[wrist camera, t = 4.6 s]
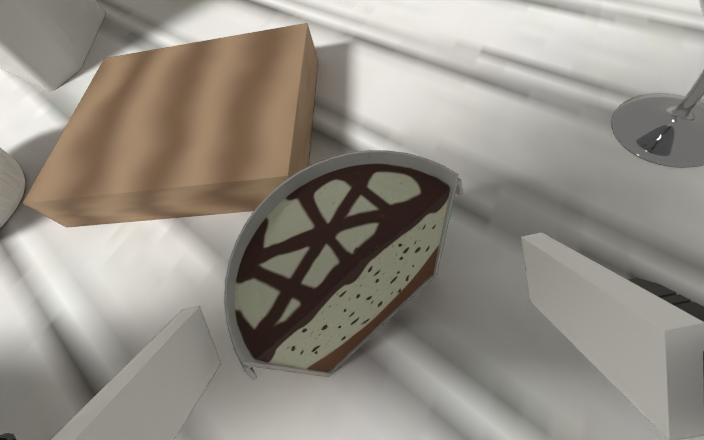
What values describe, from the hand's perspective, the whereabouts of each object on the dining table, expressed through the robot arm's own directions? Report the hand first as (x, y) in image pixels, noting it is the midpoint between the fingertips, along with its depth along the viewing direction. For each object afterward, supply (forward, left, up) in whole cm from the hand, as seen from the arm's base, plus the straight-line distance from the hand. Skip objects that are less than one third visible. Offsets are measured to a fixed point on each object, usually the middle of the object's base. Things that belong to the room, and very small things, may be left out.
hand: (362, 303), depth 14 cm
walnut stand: (-17, +20, -9) cm, 27 cm away
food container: (-2, +4, -9) cm, 10 cm away
